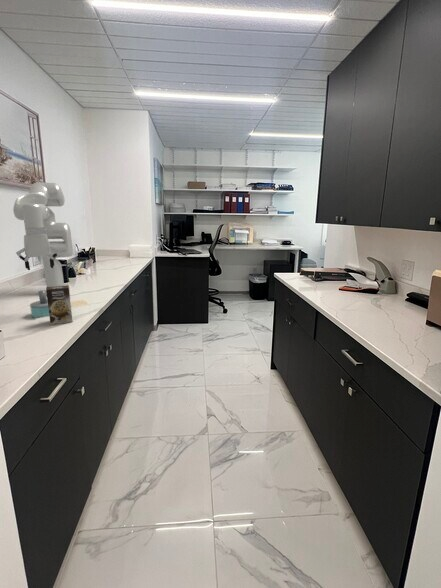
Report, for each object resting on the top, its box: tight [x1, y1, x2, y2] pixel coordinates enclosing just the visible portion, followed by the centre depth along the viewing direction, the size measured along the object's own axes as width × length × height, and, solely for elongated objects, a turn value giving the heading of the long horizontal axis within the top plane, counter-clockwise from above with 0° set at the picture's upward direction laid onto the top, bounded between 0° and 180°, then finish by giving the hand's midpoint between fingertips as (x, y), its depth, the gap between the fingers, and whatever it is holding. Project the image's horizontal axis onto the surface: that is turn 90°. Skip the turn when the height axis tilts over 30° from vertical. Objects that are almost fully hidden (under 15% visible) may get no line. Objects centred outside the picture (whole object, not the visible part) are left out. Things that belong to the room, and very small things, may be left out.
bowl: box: [29, 305, 49, 319], centre depth 149 cm, size 11×11×5 cm
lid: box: [29, 289, 48, 308], centre depth 147 cm, size 11×11×7 cm
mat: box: [70, 299, 89, 308], centre depth 166 cm, size 11×11×1 cm
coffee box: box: [45, 284, 74, 326], centre depth 138 cm, size 9×6×16 cm
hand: (40, 268), depth 145 cm, fingers open, 9 cm apart
